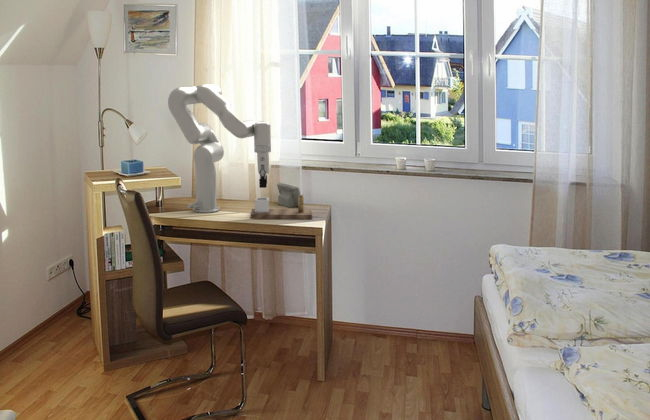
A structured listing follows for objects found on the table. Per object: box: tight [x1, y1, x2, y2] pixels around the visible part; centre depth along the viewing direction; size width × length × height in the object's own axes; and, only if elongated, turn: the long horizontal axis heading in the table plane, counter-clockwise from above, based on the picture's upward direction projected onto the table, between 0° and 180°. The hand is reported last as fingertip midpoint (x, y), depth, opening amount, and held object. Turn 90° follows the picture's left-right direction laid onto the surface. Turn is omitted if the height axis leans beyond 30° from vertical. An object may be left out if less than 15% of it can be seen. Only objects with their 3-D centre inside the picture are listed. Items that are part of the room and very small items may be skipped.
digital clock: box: [276, 181, 302, 208], centre depth 373 cm, size 16×9×11 cm, turn 30°
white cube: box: [254, 197, 270, 213], centre depth 347 cm, size 6×6×6 cm
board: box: [250, 194, 313, 220], centre depth 348 cm, size 28×12×10 cm, turn 93°
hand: (263, 185), depth 345 cm, fingers open, 9 cm apart
